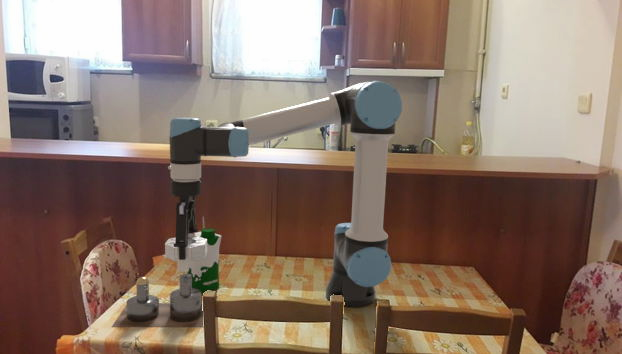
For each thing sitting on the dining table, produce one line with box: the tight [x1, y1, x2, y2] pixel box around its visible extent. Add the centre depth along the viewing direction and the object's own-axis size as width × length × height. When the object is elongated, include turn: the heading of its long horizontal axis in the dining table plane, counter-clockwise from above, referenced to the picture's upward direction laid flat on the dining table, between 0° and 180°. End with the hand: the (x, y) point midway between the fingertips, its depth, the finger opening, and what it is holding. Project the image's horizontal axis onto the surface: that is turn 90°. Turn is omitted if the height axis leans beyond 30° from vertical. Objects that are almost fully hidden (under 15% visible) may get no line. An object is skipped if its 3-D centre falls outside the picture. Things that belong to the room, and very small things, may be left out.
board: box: [111, 302, 204, 328], centre depth 128 cm, size 14×24×2 cm, turn 95°
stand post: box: [169, 273, 202, 322], centre depth 127 cm, size 8×8×11 cm
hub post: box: [126, 276, 160, 322], centre depth 126 cm, size 8×8×10 cm
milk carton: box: [187, 227, 222, 295], centre depth 145 cm, size 9×9×20 cm
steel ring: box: [164, 236, 207, 262], centre depth 125 cm, size 10×10×4 cm
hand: (186, 263), depth 126 cm, fingers closed on steel ring, 10 cm apart
